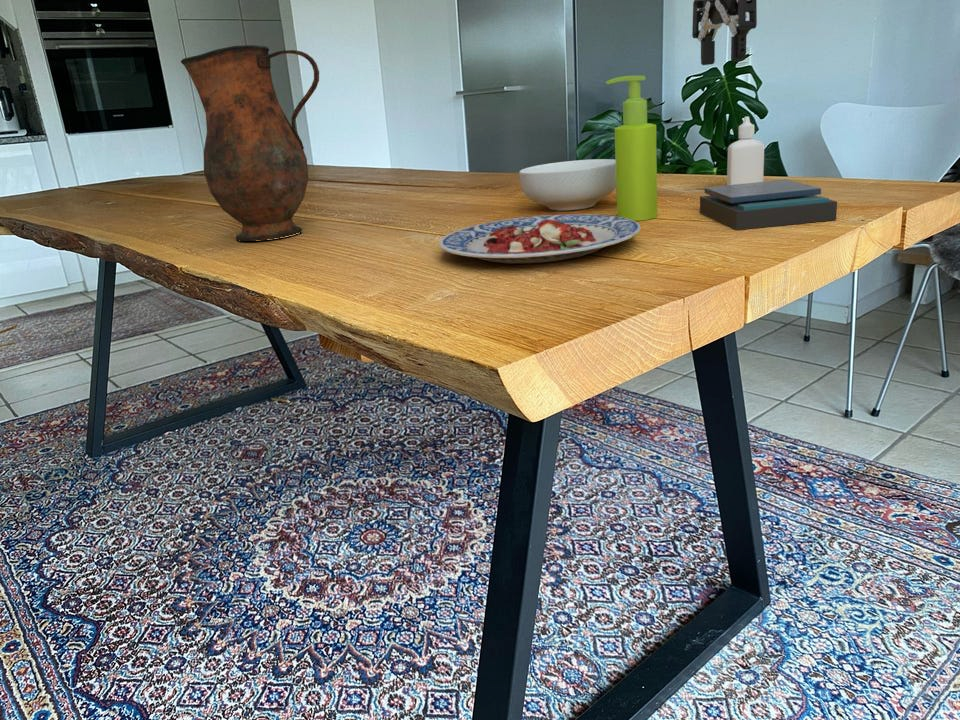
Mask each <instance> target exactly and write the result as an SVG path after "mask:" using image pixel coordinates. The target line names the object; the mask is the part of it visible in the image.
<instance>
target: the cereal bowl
mask: <svg viewBox="0 0 960 720" xmlns="http://www.w3.org/2000/svg"><path fill="white" fill-rule="evenodd" d="M518 174H519V175H518V176H519V182H520V186H521V189H522V192H523V193H524V195H525V196H526V197H527V198H528V199H529V200H531V201H532V202H534V203H536V204H538V205H543V206H545V207H547V208H548V210H551V211H558V212H566V211H576V210H577V211H578V210H584V209H589V208H593V207H595V206H596V204H597V203H598V202H599V201H601V200H603V199H604V198H606V197H608V196H609V195H611V194H612V193H613V192H615V190H616V159H615V158H614V159H612V158H608V159H607V158H598V159H597V158H596V159H595V158H594V159H593V158H591V159H579V160H569V161H568V160H567V161H566V160H565V161H558V162H551V163H544V164H538V165H533V166H529V167H525V168H522V169H521V170H519V172H518Z"/></svg>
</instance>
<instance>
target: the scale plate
mask: <svg viewBox="0 0 960 720" xmlns="http://www.w3.org/2000/svg"><path fill="white" fill-rule="evenodd" d="M704 194H706V195H707V196H710V195H711V196H714V197H716V198H719V199H721V200H724V201H726V202H729V203H740V202H750V201H760V200H770V199H780V198H790V197H800V196H810V195H815V196H819V195H820V196H821V194H822V188H821V187H817V186H815V185H814V186H813V185H811V184H810V185H809V184H805V183H801V182H797V181H793V180H790V179H775V180H766V181H765V180H764V181H763V182H755V183H745V184H735V185H727V184H726V185H718V186H708V187H707V186H706V187H704Z"/></svg>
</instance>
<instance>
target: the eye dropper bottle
mask: <svg viewBox="0 0 960 720" xmlns="http://www.w3.org/2000/svg"><path fill="white" fill-rule="evenodd" d="M737 137H738V140H736V141H734V142H732V143H730V144H729V146H728V148H727V163H726V164H727V165H726V166H727V167H726V168H727V170H726V185H735V184H745V183H755V182H764V171H765V169H764V168H765V145H764V142H763V141H761V140H758V139H754V138H755V124H753V123H752V122H751V120H750V116H744V117H743V122H742V123H741V124H740V125H738V136H737Z"/></svg>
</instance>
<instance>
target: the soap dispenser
mask: <svg viewBox="0 0 960 720" xmlns="http://www.w3.org/2000/svg"><path fill="white" fill-rule="evenodd" d="M646 80H647V79H646V75H624V76H618V77H614V78H612V79H611V78H610V79H608V80H607V81H605V83H606V85H613V84H617V83H621V82H627V86H628V87H627V90H628V98H626V99H625V101H622V125H619V126H617V127H615V128H614V152H615V153H614V155H615V158H614V160H616V188H615V190H616V217H621V218H627V219H630V220H633V221H635V222H640V221H649V220H653V219H656V218H658V167H657V166H658V165H657V164H658V159H657V157H658V155H657V154H658V153H657V147H658V146H657V124H656V123H655V124H654V123H650V122H649V123H648V100H647V99H644V97H642V96H641V95H642V91H641V90H642V89H641V88H642V87H641V86H642V85H641V81H646Z"/></svg>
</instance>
